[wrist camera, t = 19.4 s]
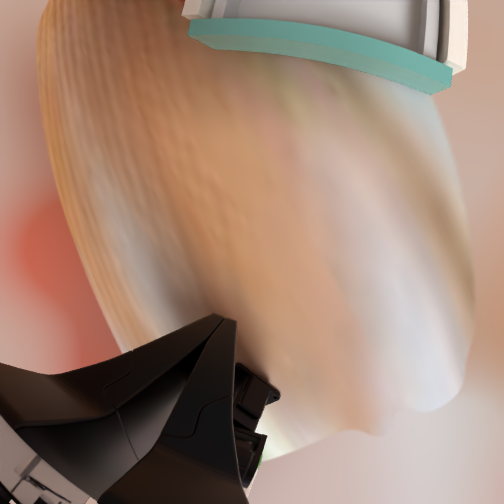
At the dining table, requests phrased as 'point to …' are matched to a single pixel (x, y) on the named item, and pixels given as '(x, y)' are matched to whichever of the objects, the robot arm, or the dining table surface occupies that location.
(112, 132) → the dining table surface
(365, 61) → the grey tray
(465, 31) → the tray sleeve
